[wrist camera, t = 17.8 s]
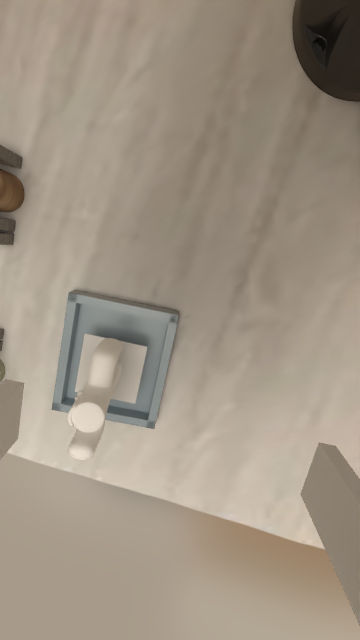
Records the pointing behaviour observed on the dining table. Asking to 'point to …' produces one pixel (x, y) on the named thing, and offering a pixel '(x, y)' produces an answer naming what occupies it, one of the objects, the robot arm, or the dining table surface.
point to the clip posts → (10, 159)
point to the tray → (124, 325)
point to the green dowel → (2, 370)
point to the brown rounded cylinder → (10, 192)
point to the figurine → (102, 388)
